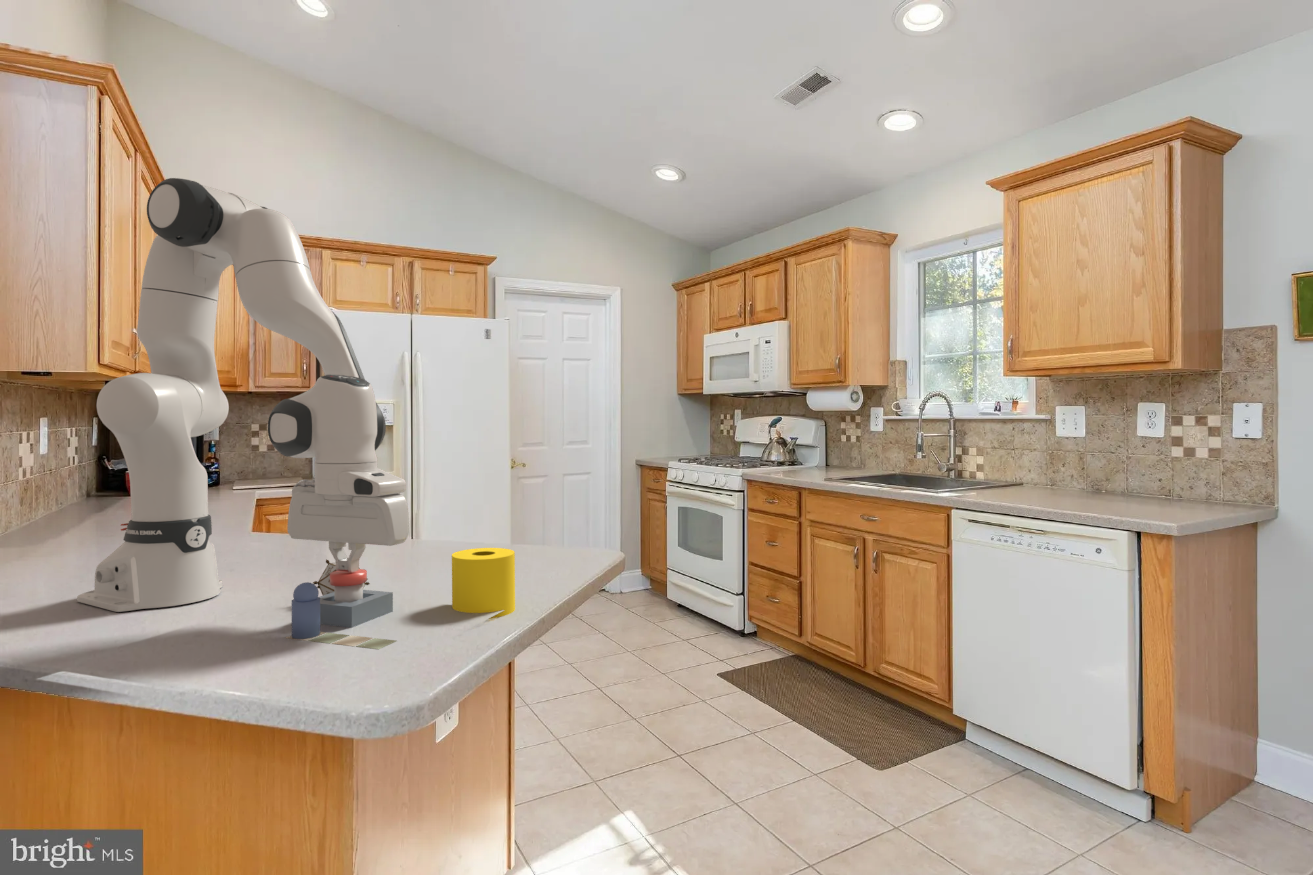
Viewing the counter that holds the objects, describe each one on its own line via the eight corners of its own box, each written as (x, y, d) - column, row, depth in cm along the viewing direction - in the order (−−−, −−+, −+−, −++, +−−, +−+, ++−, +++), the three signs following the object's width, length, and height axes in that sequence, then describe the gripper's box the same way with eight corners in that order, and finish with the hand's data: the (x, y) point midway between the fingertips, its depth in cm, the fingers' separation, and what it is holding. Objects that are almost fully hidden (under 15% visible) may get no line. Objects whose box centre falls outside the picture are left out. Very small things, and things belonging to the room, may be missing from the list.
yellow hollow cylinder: (527, 610, 115) (526, 553, 115) (472, 623, 108) (471, 562, 108) (494, 599, 122) (493, 545, 122) (441, 610, 115) (440, 553, 115)
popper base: (302, 628, 105) (302, 601, 105) (346, 612, 114) (346, 588, 114) (352, 634, 103) (351, 606, 102) (392, 617, 111) (392, 592, 111)
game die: (346, 630, 116) (342, 592, 111) (305, 610, 118) (298, 571, 112) (381, 594, 123) (379, 556, 117) (341, 575, 125) (337, 536, 119)
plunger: (322, 620, 107) (322, 574, 106) (347, 611, 111) (346, 567, 111) (350, 623, 105) (350, 577, 105) (374, 614, 110) (374, 570, 110)
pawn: (285, 637, 98) (285, 584, 98) (306, 629, 101) (306, 578, 101) (305, 640, 97) (305, 586, 96) (326, 632, 100) (326, 581, 100)
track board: (271, 649, 96) (271, 642, 96) (316, 632, 103) (316, 625, 103) (368, 662, 91) (368, 654, 91) (408, 643, 98) (408, 636, 98)
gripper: (276, 480, 108) (277, 570, 108) (387, 485, 101) (388, 580, 102) (308, 477, 114) (309, 562, 114) (415, 481, 107) (415, 571, 108)
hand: (347, 570), depth 108 cm, fingers closed
